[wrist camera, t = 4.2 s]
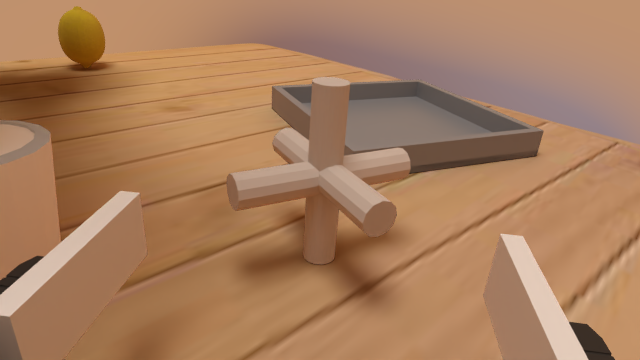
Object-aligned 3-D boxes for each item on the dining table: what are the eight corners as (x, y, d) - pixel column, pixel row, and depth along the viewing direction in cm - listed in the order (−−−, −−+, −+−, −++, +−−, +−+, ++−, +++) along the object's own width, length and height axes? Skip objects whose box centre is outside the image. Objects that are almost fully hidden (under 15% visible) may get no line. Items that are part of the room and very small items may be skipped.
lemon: (113, 64, 66) (105, 5, 62) (102, 73, 61) (92, 9, 57) (72, 63, 65) (62, 3, 61) (57, 71, 60) (45, 7, 56)
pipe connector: (347, 200, 32) (362, 57, 28) (444, 283, 24) (485, 101, 20) (208, 229, 28) (199, 64, 23) (271, 342, 20) (275, 124, 16)
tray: (271, 108, 51) (272, 86, 50) (416, 99, 59) (420, 79, 58) (350, 181, 35) (353, 151, 34) (536, 155, 43) (543, 130, 41)
